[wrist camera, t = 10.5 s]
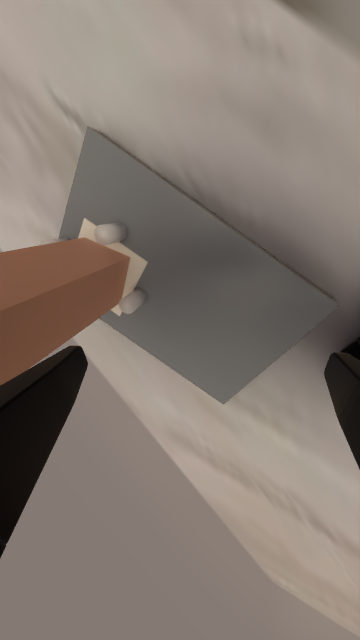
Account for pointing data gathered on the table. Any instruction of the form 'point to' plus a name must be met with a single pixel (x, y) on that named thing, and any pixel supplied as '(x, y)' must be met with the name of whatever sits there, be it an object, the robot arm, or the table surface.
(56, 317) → the terracotta block
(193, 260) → the base plate
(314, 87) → the table surface
